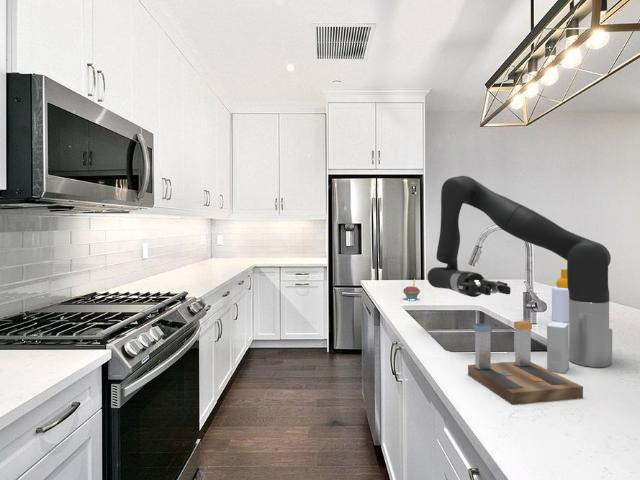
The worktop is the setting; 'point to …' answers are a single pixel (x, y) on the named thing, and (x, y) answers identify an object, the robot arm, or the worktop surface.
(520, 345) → the lever orange
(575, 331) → the robot arm
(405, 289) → the cupcake
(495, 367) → the switch base
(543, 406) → the worktop surface
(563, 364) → the skincare box
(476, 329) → the lever blue
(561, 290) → the soap bottle
